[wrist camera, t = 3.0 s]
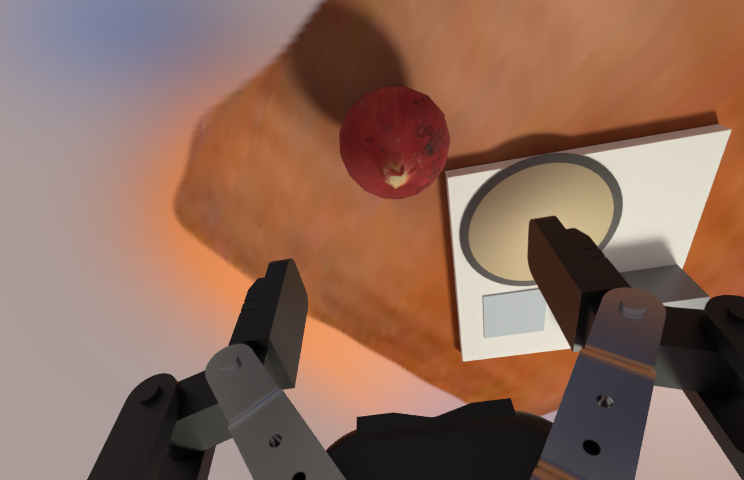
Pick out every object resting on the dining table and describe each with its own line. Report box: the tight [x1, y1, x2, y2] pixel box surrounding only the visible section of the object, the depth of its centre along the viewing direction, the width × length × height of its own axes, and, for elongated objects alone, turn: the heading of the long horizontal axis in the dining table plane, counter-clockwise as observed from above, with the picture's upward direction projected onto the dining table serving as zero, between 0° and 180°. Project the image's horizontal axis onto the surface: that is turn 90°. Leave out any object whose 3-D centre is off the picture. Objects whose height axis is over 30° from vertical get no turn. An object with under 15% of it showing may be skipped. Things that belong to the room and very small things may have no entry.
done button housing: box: [579, 264, 710, 352], centre depth 31 cm, size 7×7×4 cm
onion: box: [339, 87, 450, 199], centre depth 21 cm, size 6×6×8 cm
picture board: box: [445, 124, 731, 361], centre depth 30 cm, size 20×17×1 cm
